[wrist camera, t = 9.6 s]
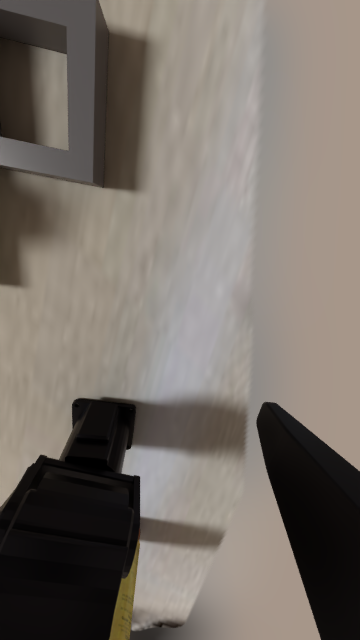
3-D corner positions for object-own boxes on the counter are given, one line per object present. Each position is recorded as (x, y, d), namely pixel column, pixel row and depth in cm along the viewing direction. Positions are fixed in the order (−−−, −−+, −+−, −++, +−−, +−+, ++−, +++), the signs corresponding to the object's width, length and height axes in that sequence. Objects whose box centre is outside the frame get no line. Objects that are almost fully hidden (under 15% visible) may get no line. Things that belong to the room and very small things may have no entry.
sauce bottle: (119, 509, 32) (54, 880, 14) (150, 526, 35) (128, 869, 16) (88, 528, 34) (-5, 882, 16) (119, 543, 36) (68, 873, 18)
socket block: (103, 187, 16) (92, 182, 14) (-17, 164, 16) (-49, 155, 13) (108, 31, 13) (96, -8, 11) (-42, -9, 12) (-89, -59, 10)
